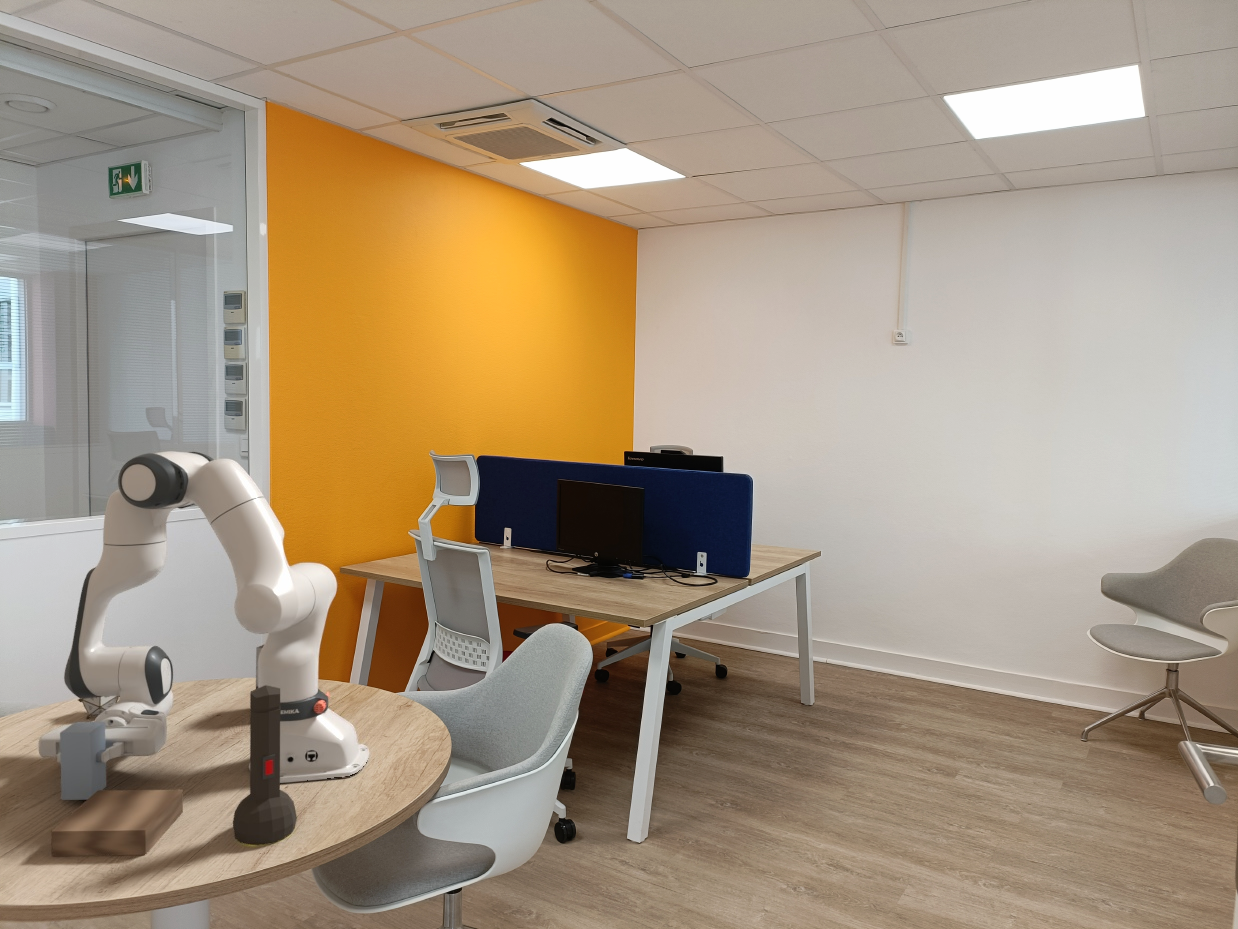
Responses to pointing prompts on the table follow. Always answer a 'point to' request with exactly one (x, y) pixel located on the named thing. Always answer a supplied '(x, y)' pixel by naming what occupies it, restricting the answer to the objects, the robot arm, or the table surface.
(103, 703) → the game die
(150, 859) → the table surface
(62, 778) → the slate block
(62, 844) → the block
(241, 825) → the flashlight
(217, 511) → the robot arm
